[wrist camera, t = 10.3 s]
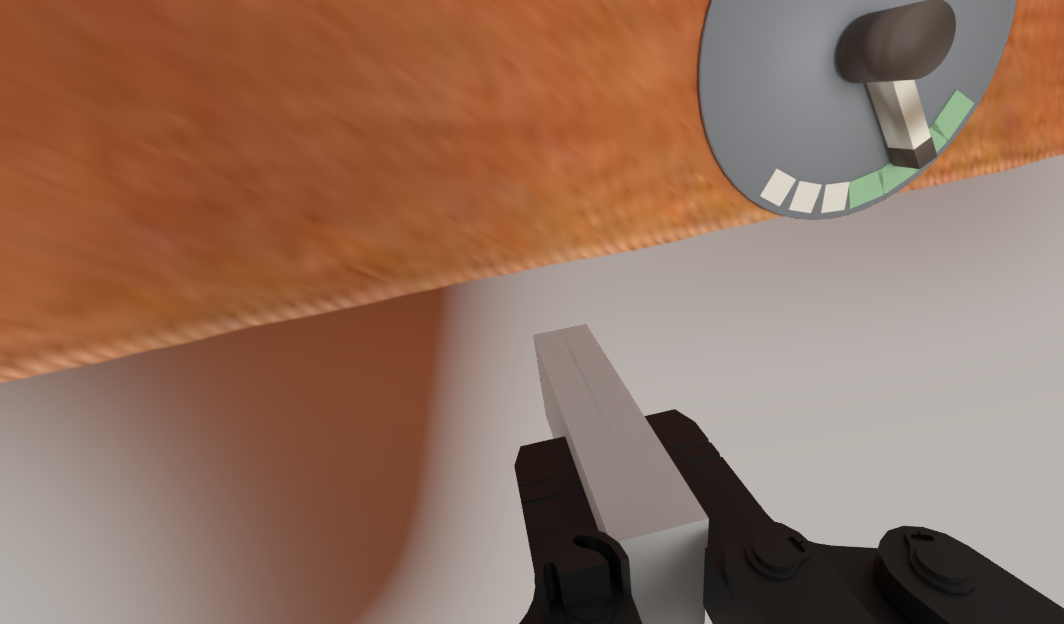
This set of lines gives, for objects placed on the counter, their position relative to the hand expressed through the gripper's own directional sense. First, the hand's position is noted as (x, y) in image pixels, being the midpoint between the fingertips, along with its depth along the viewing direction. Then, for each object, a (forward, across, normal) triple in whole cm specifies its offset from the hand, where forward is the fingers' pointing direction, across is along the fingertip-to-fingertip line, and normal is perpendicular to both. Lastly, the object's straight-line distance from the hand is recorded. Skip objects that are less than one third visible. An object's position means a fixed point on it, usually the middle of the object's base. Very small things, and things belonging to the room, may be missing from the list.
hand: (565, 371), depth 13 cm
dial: (+28, +32, +6) cm, 43 cm away
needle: (+27, +34, +3) cm, 44 cm away
